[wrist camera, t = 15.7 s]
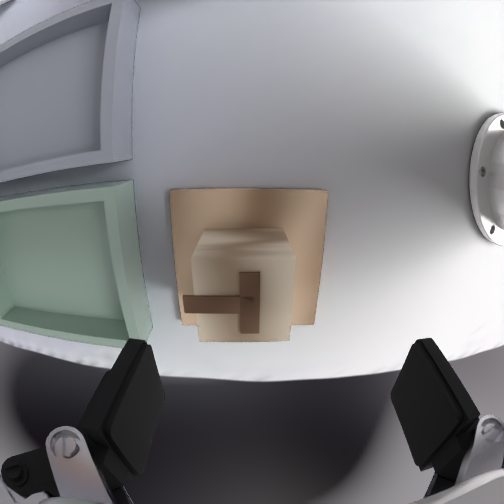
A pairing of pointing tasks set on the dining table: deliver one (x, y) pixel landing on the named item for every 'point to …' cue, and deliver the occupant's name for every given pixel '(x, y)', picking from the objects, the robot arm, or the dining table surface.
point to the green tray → (73, 264)
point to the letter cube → (242, 285)
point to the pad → (253, 216)
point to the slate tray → (68, 90)
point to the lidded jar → (3, 1)
